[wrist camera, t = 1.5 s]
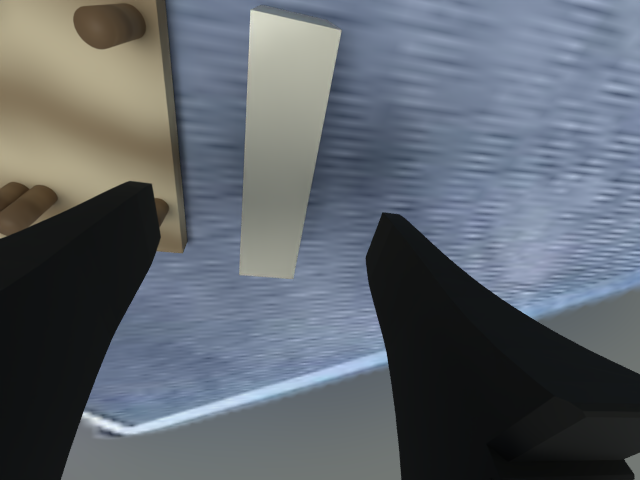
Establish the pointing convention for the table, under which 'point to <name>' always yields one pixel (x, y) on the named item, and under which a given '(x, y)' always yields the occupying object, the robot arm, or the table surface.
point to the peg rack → (86, 109)
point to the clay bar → (282, 133)
